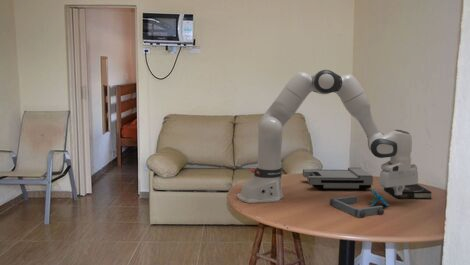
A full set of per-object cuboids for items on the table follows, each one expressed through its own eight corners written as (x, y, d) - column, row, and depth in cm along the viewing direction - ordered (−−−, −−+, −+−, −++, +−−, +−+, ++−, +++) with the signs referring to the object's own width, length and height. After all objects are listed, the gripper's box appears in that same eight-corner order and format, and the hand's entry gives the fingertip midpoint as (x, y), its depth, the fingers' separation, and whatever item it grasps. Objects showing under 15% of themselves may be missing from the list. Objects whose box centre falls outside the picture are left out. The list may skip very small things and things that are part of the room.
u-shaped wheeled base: (359, 218, 175) (359, 211, 175) (329, 204, 194) (329, 198, 193) (384, 214, 181) (384, 207, 180) (353, 201, 199) (353, 195, 199)
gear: (392, 206, 186) (375, 189, 187) (382, 215, 187) (365, 198, 188) (386, 202, 197) (371, 186, 198) (377, 211, 198) (361, 195, 199)
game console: (302, 181, 237) (302, 167, 236) (359, 182, 238) (360, 167, 237) (309, 191, 217) (309, 175, 216) (372, 192, 217) (372, 176, 216)
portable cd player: (397, 200, 203) (397, 192, 203) (383, 190, 220) (384, 183, 220) (431, 200, 204) (431, 192, 203) (415, 191, 221) (415, 183, 220)
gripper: (411, 162, 202) (409, 191, 203) (378, 165, 193) (376, 195, 195) (422, 165, 196) (420, 194, 198) (388, 168, 188) (386, 198, 189)
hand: (398, 195), depth 196 cm, fingers closed
